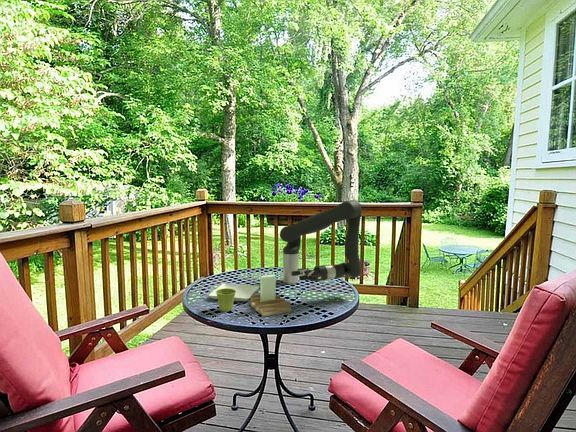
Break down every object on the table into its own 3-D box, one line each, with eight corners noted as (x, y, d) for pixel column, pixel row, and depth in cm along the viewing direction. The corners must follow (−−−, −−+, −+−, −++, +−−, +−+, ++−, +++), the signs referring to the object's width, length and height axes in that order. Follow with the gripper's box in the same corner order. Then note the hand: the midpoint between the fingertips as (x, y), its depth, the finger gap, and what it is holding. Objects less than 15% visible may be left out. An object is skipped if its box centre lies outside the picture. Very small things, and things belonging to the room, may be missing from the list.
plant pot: (237, 305, 181) (237, 288, 180) (235, 313, 172) (235, 294, 171) (217, 305, 181) (217, 288, 180) (214, 313, 172) (214, 294, 171)
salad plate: (248, 304, 184) (248, 297, 184) (207, 301, 188) (207, 294, 188) (260, 291, 205) (260, 285, 204) (223, 288, 209) (223, 282, 208)
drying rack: (249, 304, 184) (249, 295, 183) (275, 300, 190) (276, 291, 189) (262, 316, 169) (262, 306, 168) (291, 311, 175) (291, 302, 174)
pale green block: (260, 305, 178) (260, 276, 177) (272, 303, 181) (273, 274, 179) (262, 307, 176) (262, 277, 174) (275, 305, 179) (275, 276, 177)
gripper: (317, 262, 196) (289, 264, 189) (332, 268, 183) (302, 272, 176) (317, 276, 197) (289, 279, 190) (331, 284, 184) (302, 287, 177)
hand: (295, 276), depth 183 cm, fingers open, 8 cm apart
